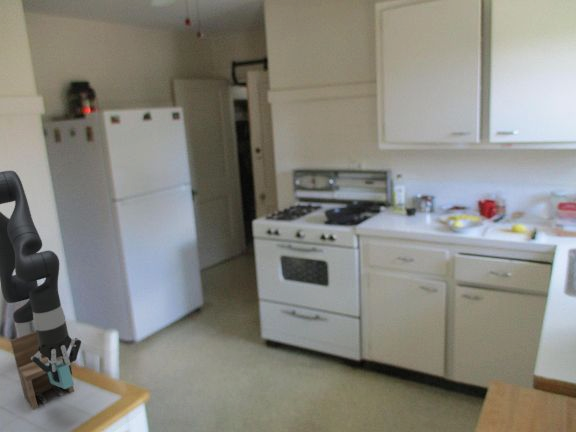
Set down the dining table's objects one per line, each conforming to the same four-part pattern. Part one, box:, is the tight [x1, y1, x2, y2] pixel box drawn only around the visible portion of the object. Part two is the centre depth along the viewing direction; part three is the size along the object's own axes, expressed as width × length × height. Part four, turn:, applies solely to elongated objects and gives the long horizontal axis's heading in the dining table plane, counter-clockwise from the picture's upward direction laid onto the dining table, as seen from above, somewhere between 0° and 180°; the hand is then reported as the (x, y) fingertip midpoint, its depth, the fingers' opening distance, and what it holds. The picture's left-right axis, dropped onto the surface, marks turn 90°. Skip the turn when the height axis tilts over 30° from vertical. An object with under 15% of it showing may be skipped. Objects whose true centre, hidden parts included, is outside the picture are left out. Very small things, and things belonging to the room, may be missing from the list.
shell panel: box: [45, 362, 75, 390], centre depth 140 cm, size 14×2×6 cm, turn 43°
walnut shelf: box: [10, 331, 75, 410], centre depth 152 cm, size 9×12×20 cm
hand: (62, 379), depth 138 cm, fingers closed on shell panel, 2 cm apart
